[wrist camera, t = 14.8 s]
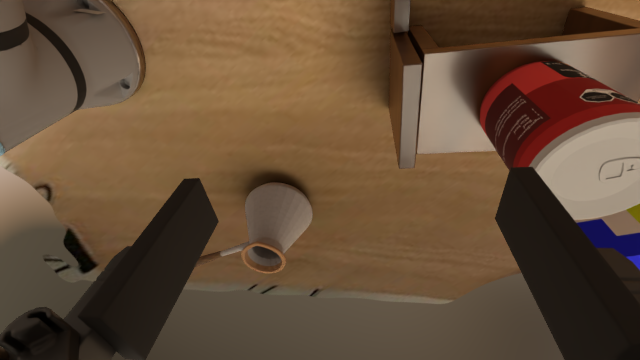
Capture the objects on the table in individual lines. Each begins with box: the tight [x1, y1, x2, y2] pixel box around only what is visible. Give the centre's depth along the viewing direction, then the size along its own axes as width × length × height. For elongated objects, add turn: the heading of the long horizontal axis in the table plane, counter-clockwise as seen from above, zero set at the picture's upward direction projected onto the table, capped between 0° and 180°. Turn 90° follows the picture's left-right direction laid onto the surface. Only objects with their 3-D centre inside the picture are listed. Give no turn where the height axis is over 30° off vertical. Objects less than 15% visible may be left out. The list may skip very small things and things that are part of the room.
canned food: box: [480, 61, 640, 220], centre depth 23 cm, size 8×8×11 cm
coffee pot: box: [195, 182, 313, 273], centre depth 48 cm, size 21×12×15 cm, turn 100°
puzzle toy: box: [575, 203, 640, 270], centre depth 44 cm, size 10×10×10 cm
